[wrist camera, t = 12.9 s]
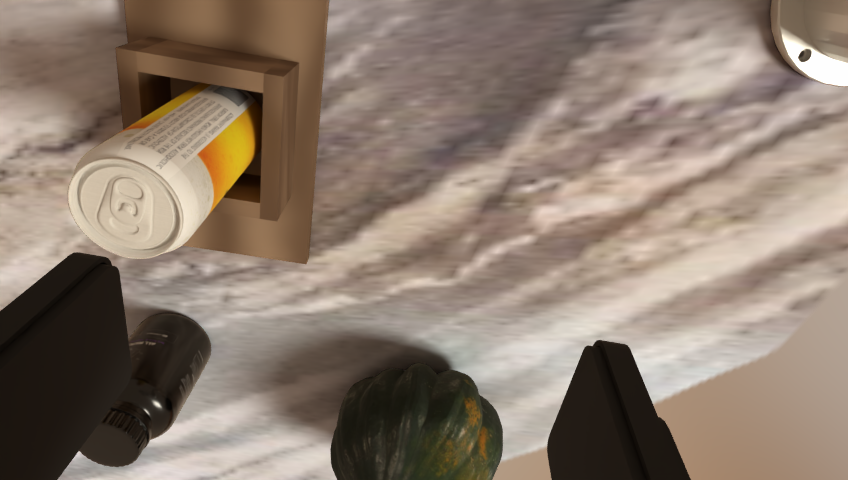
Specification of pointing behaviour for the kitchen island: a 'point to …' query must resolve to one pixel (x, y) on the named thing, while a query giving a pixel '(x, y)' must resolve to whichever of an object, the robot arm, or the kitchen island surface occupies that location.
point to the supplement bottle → (151, 388)
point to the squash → (416, 428)
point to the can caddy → (264, 80)
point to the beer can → (165, 171)
